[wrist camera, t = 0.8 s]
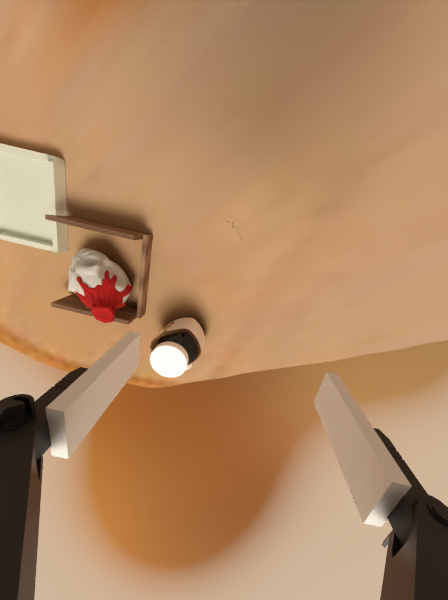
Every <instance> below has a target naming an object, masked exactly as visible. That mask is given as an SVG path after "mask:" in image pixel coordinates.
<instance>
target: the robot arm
mask: <svg viewBox="0 0 448 600" xmlns="http://www.w3.org/2000/svg"><path fill="white" fill-rule="evenodd" d="M139 349H140V333H136V332H131V331H129V332H128V333H127V334H126V335H125V336H124V337H123V338H122V339H121V340H120V341H118V342H117V343H116V344H115V345H114V346H113V347H112V348H111V349H110V350H109V351H107V352H106V353H105V354H104V355H103V356H102V357H101V358H100V359H99V360H98V361H96V362H95V363H94V364H93V365H92V366H91V367H90V368H89V369H87V368H82V367H80V368H78V369H76V370H74V371H72V372H70V373H69V374H67V375H66V376H65V377H64V378H63V379H62V380H61V381H59V382H58V383H57V384H55V386H54V387H52V388H51V389H49V390H48V391H47V392H46V393H45V394H43V395H42V396H41V397H40V398H39V399H37V400H36V401H35V402H34V398H33V397H32V396H30V395H26V394H19V395H13V396H10V397H7V398H4V399H3V400H1V401H0V600H34V593H35V576H36V562H37V545H38V528H39V514H40V499H41V483H42V468H43V456H42V455H43V454H44V453H45V452H46V450H48V448H49V447H51V454H52V456H57V457H62V458H66V459H68V458H69V457H70V456H71V455H72V453H73V452H74V451H75V449H76V448H77V447H78V445H79V444H80V443H81V441H82V440H83V439H84V438H85V436H86V435H87V434H88V432H89V431H90V430H91V428H92V427H93V426H94V424H95V423H96V422H97V420H98V419H99V418H100V416H101V415H102V414H103V412H104V411H105V410H106V408H107V407H108V406H109V404H110V403H111V402H112V400H113V399H114V398H115V396H116V395H117V394H118V393H119V391H120V390H121V389H122V387H123V386H124V385H125V383H126V382H127V381H128V379H129V378H130V377H131V375H132V374H133V373H134V371H135V370H136V369H137V367H138V366H139ZM314 405H315V407H316V410H317V412H318V414H319V417H320V419H321V422H322V424H323V427H324V429H325V431H326V434H327V436H328V439H329V441H330V443H331V445H332V448H333V451H334V453H335V455H336V457H337V460H338V462H339V465H340V467H341V470H342V472H343V475H344V477H345V480H346V482H347V484H348V487H349V489H350V492H351V494H352V496H353V499H354V501H355V504H356V506H357V508H358V511H359V513H360V516H361V518H362V520H363V523H365V524H370V525H375V526H379V527H382V525H383V524H384V523H385V521H386V520H387V519H388V520H389V522H390V524H391V526H392V528H393V530H392V532H391V533H390V534H389V535H388V536H387V538H386V539H385V540H384V542H383V544H382V545H383V546H384V547H386V546H387V544H388V550H387V557H386V564H385V572H384V578H383V585H382V592H381V598H380V600H448V507H447V506H445V505H444V504H443V503H442V502H441V501H439V500H438V499H436V498H434V497H432V496H430V495H428V494H427V493H426V491H425V490H424V488H423V487H422V485H421V484H420V483H419V481H418V480H417V478H416V477H415V475H414V474H413V473H412V471H411V470H410V468H409V467H408V466H407V464H406V463H405V461H404V460H402V457H401V456H400V454H399V453H398V451H396V448H395V447H394V446H393V444H392V443H391V441H390V440H389V439H388V438H387V437H386V436H385V435H384V434H383V433H382V432H381V431H380V430H379V429H376V428H373V427H372V425H371V424H370V422H369V421H368V419H367V418H366V416H365V415H364V413H363V412H362V410H361V409H360V407H359V406H358V404H357V403H356V401H355V400H354V398H353V397H352V395H351V394H350V393H349V391H348V389H347V388H346V386H345V385H344V383H343V382H342V380H341V379H340V377H339V376H338V374H334V373H329V372H326V375H325V377H324V379H323V382H322V384H321V386H320V389H319V391H318V393H317V396H316V398H315V400H314Z"/></svg>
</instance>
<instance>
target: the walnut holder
mask: <svg viewBox="0 0 448 600" xmlns="http://www.w3.org/2000/svg"><path fill="white" fill-rule="evenodd" d="M45 219H46V220H51V221H55V222H59V223H63V224H68V225H72V226H76V227H81V228H85V229H89V230H93V231H98V232H102V233H106V234H111V235H115V236H119V237H123V238H128V239H132V240H138V239H143V245H142V257H141V269H140V281H139V293H138V305H137V309H136V308H132V307H127V306H123V307H121V308H117V309H115V310H116V313H115V315H114V321H116V322H120V323H124V324H129V323H131V322H132V321H133V320H134V319H135V318H136V317H137V318H141V317H142V316H143V315H144V314H145V310H146V299H147V289H148V279H149V269H150V258H151V248H152V238H153V235H150V234H145V233H141V232H137V231H133V230H128V229H124V228H120V227H115V226H111V225H107V224H102V223H98V222H94V221H90V220H85V219H81V218H77V217H72V216H60V215H45ZM51 306H52V307H56V308H61V309H65V310H69V311H73V312H78V313H82V314H86V315H90V316H93V315H92V314H91V309H90V308H87V307H86V306H85V304H83V303H82V301H81V299H80V298H79V297H78V295H77V294H72V295H70V296H67V297H64V298H62V299H59V300H57V301H54V302H52V303H51Z"/></svg>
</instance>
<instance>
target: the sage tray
mask: <svg viewBox="0 0 448 600" xmlns="http://www.w3.org/2000/svg"><path fill="white" fill-rule="evenodd" d="M45 215H60V216H67V208H66V180H65V160H63V159H61V158H58V157H55V156H53V155H48V154H44V153H40V152H35V151H31V150H27V149H22V148H18V147H14V146H9V145H5V144H1V143H0V239H2V240H6V241H10V242H14V243H19V244H23V245H27V246H32V247H36V248H40V249H44V250H49V251H53V252H57V253H59V252H67V251H68V236H67V224H63V223H59V222H55V221H51V220H46V219H45Z"/></svg>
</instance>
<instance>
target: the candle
mask: <svg viewBox="0 0 448 600" xmlns="http://www.w3.org/2000/svg"><path fill="white" fill-rule="evenodd" d="M68 275H69V285H68V290H69V291H72V292H74V293H76V294H77V295H78V297H79V298H80V299H81V301H82V303H83V304H85V306H86V307H87V308H90V309H91V314H92V315H93V316H94V317H95V318H96V319H97V320H100V321H101V322H104V323H108V322H113V321H114V315H115V313H116V310H115V309H117V308H121V307H123V306H125V305H126V303H127V298H128V297H129V296H130V294H131V291H132V284H131V283H130V281H129V279H128V277H127V275H126V273H125V272H124V271H123V269H122V268H120V266H119V265H118V264H116V263H115V262H113V261H111V260H109V259H108V257H107V256H106V255H104V254H102V253H100V252H98V251H95V250H94V249H93V250H92V249H91V248H89V249H88V248H83V249H81V250H79V251H78V253H76V254H75V255H74V256H73V258H72V263H71V266H70V267H69V273H68Z"/></svg>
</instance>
